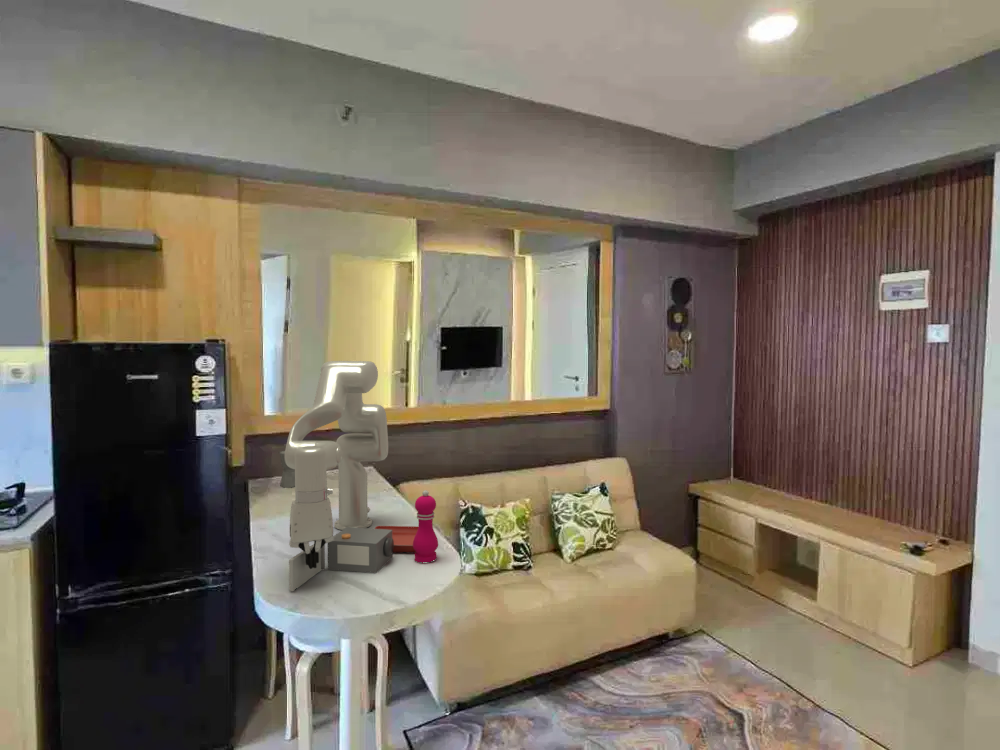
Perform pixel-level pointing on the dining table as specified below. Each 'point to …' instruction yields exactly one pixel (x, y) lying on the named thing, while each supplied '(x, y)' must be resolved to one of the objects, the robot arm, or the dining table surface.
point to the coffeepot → (287, 473)
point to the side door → (303, 568)
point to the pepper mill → (425, 529)
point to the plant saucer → (402, 537)
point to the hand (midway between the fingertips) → (312, 566)
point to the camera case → (360, 549)
